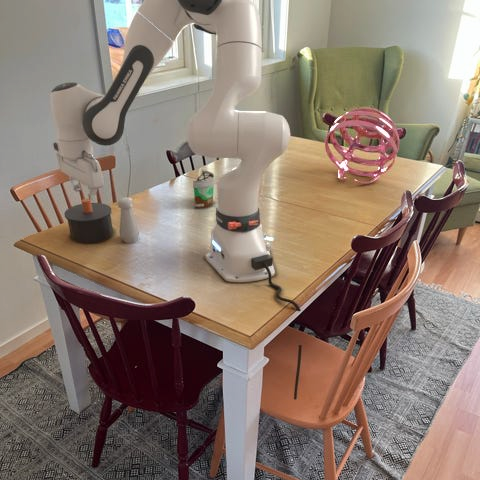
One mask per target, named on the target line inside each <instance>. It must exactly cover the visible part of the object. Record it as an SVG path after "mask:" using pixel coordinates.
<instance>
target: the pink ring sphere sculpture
mask: <svg viewBox="0 0 480 480" xmlns="http://www.w3.org/2000/svg"><path fill="white" fill-rule="evenodd" d="M360 116H363V117H367V118H372V119H373V120H377V121H379V122H381V123H382V124H383V125H384V126H383V128H382V127H381V126H379V125H377V124H375V123H372V122H370V121H365V120H362V119H361V120H360V119H359V118H360ZM349 117H352V118H351V119H350V120H347V119H348V118H349ZM347 127H348V128H349V127H352V128H353V130H354V131H355V132H356V133H357V135H356V137H354V138H353V137H352V136H351V135H350V133H349V132H348V131H347ZM337 130H339V132H340V135H341V138H343V140H344V141H345V142H346V143H347V144H348V148H347V149H344V147H342V146H341V145H340V143H339V142H338V140H337V138H336V134H335V131H337ZM390 130H391V132H392V136H391V134H389V132H390ZM329 138H330V139H329ZM361 138H365V139H366V138H367V139H370V140H377V139H378V140H379V145H368V144H364V143H361V142H360V140H361ZM329 140H330V143H331V145H332V147H333V148H334V150H335V151H336V152H337V153H338V154H339V155H340V156H341V158H342V160H341V161H340V160H339V159H337V157H335V155H334V153H332V151H331V149H330V146H329ZM384 140H385V141H386V142H385V141H384ZM400 141H401V140H400V136H399V132H398V130H397V126H396V124H395V123H394V121H393V120H392V118H391V117H389V115H387V114H386V113H384V112H383V111H381V110H379V109H377V108H373V107H357V108H353V109H350V110H349V111H347V112H346V113H344V114H342V115H340V116H339V117H338V118H336V119H335V121H334V122H333V124H332V125H331V128H330V129H329V131H328V132H327V134H326V136H325V140H324V147H325V152H326V154H327V156H328V158H329V159H330V160H331V162H332V163H333V164H334V165H335V166H336V167H337V168H338V172H337V177H338V179H339V181H342V182H345V181H346V180H347V177H344V174H345V173H349V174H351V175H354V176H360V177H372V178H371V179H370V180H369V181H361V180H358V179H355V178H354V179H353V181H354V182H355V183H357V184H359V185H363V186H364V185H370V184H372V183H374V182H376V181H377V180H378V179H379V178H380V176H382V175H383V174H385V173H387V172H388V171H389V170H390V169H391V168H393V166H394V164H395V163H396V161H397V159H398V158H397V157H398V152H399V150H400V146H401V145H400ZM390 148H391V150H392V153H390V154H389V155H387V151H388V150H389V149H390ZM356 150H358V151H361V152H364V153H369V154H373V153H374V154H376V153H379V155H380V157H379V158H377V159H369V158H368V159H367V158H361V157H358V156H355V154H354V151H356ZM390 161H391V162H390ZM350 162H351V163H354V164H358V165H361V166H366V167H374V166H375V167H376V166H377V167H378V168H377V169H376V170H372V171H369V170H368V171H367V170H360V169H356V168H352V167H350V166H349V163H350ZM389 162H390V164H388V163H389ZM386 164H388V165H387V166H386ZM385 166H386V167H385Z"/></svg>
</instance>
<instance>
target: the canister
mask: <svg viewBox="0 0 480 480" xmlns="http://www.w3.org/2000/svg"><path fill="white" fill-rule="evenodd" d="M111 215H112V214H110V215H109V216H108V217H106V218H104V219H102V220H99V221H94V222H86V223H80V222H73V221H70V220H68V219H66V220H67V224H68V229H69V233H70V238H71V240H73V241H74V242H76V243H78V244H96V243H101V242H104V241H106V240H108V239H110V238H111V237H112V236H113V235H114V229H113V223H112V217H111Z"/></svg>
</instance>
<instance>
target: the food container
mask: <svg viewBox="0 0 480 480" xmlns="http://www.w3.org/2000/svg"><path fill="white" fill-rule="evenodd" d="M216 182H217V180H216V177H215V175H214V173H213V172H211V171H210V170H209V171H208V170H203V169H202V170H201V174H200V175H198V177H197V179H196V180H193V181H192V188H193V195H194V207H195V209H207V208H210V207H211V206H213V204H214V189H215V188H214V187H215V184H216Z"/></svg>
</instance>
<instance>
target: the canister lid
mask: <svg viewBox="0 0 480 480" xmlns="http://www.w3.org/2000/svg"><path fill="white" fill-rule="evenodd" d="M112 213H113V209H112V207H111V206H110V205H108V204H106V203H102V202H92V200H90V199H89V198H83V199H82V200H81V203H79V204H76V205H73V206H71V207H68V208H67V209H66V210H65V211H64V217H65V219H66V220H67V219H68V220H70V221H73V222H80V223H86V222H94V221H99V220H102V219H104V218H106V217H108V216H109V215H112ZM68 220H67V221H68Z"/></svg>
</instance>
